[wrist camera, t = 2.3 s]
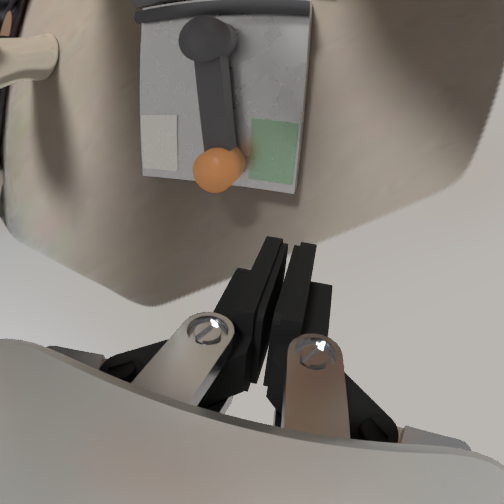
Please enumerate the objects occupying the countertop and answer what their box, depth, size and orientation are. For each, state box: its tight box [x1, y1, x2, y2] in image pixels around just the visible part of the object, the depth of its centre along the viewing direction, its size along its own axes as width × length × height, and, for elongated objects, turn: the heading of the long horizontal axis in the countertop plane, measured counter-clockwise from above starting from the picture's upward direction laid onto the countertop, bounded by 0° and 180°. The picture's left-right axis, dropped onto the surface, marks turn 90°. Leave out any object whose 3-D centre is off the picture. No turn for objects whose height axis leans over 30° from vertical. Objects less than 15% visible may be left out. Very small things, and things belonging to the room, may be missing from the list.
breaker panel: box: [140, 0, 313, 194], centre depth 23 cm, size 16×14×2 cm
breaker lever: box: [178, 15, 245, 193], centre depth 21 cm, size 13×4×3 cm, turn 5°
